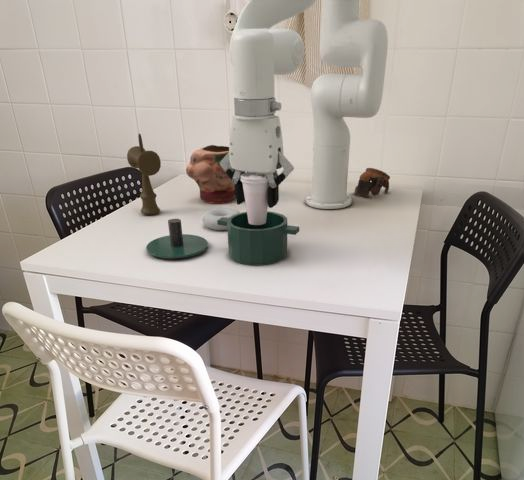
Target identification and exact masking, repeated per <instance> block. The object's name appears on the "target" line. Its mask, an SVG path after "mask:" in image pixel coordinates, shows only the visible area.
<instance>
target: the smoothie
mask: <svg viewBox="0 0 524 480" xmlns="http://www.w3.org/2000/svg"><path fill="white" fill-rule="evenodd" d="M240 180H241V182H242V184H243V190H244V197H245V201H244V203H245V209H246V212H247V216H248V222H249V224H251V225H262V224H265V223H266V218H267V211H268V208H269V207H268V188H269V187H270V183H269V181H268V178H267V176H266V173H255V172H245V173H243V174H241V179H240Z"/></svg>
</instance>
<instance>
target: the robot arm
mask: <svg viewBox="0 0 524 480" xmlns="http://www.w3.org/2000/svg"><path fill="white" fill-rule="evenodd" d="M316 1H317V0H249V1H247V2H246V4H245V5H244V6H243V8H242V9H241V12H240V13H239V15H238V17H237V20H236V22H235V25H234V28H233V31H232V34H231V37H230V42H229V47H228V48H229V50H228V53H229V61H230V63H231V65H232V85H233V87H232V89H233V107H234V108H233V109H234V115H232V117H231V120H230V128H229V139H228V140H229V142H228V147H229V153H228V154H227V155H226V156H225V157H224V158H223V159H222V160H221V161H220V166H221V167H222V168H223V169H224V171H226V174H227V175H228V176H229V177H230V179H231V180H232V183H233V184H235V197H234V199H236V204H237V205H241V204H243V203H245V197H244V190H243V184H242V182H241V180H240V179H241V174H243V173H246V172H255V173H266V176H267V178H268V181H269V183H270V187H269V188H268V208H269V209H272V208H274V207H275V206H277V204H278V202H279V197H280V195H279V194H280V191H279V190H280V189H279V187H280V186H279V185H281V184H282V183H283V182H284V181H285V180H286V178H287V177H288V176H289V175H290V174H291V173H293V171H294V170H295V167H294V166H293V164H292V163H291V161H290V160H288V159H287V157H286V156H285V154H284V141H283V133H282V126H281V119H280V116H279V115H275V114H276V112H277V111H282V103H281V102H278V101H276V97H275V76H288V75H292V74H293V73H295V72H296V71H297V70H299V68H300V67H301V66H302V63H303V62H304V58H305V44H304V40H303V39H302V36H301V35H300V34H299V33H298V32H297V31H295V30H294V29H291V28H279V27H278V28H276V27H275V28H272V27H274V26H276V25H277V24H279V23H281V22H283V21H286V20H289V19H291V18H293V17H295V16H297V15H298V16H299V15H300V14H302V13H304V12H305V11H307V10H309V9H310V8H311V7H313V5H314V4H315V3H316ZM359 10H360V0H321V18H320V34H319V35H320V36H319V56H320V60H321V62H322V63H323V64H324V65H325V66H327V67H333V68H360V69H362V73H341V72H340V73H337V72H336V73H335V72H333V73H331V72H330V73H325V74H321V75H319V76H318V77H317V78H316V79H315V80H314V81H313V83H312V86H311V89H310V102H311V108H312V119H313V141H312V143H313V145H312V174H311V194H310V195H307V196H306V197H305V203H306V205H307V206H309V207H312V208H315V209H320V210H321V209H322V210H339V209H343V208H347V207H349V206H350V205H351V204H352V201H353V200H352V199H353V198H352V197H350V195H348V194H347V191H348V178H349V177H348V176H349V163H350V149H351V148H350V147H351V132H350V128H349V126H348V125H347V122H346V121H345V119H344V118H357V119H358V118H359V119H360V118H361V119H370V118H373V117H375V116H376V115H377V114H378V112H379V111H380V108H381V105H382V99H383V93H384V84H385V76H386V75H385V74H386V65H387V57H388V45H389V37H388V30H387V27H386V25H385V23H383V22H382V21H380V20H378V19H360V18H359ZM279 169H280V170H281V169H282V171H281V172H280V173H279V172H278V170H279Z"/></svg>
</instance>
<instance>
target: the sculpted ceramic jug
mask: <svg viewBox="0 0 524 480" xmlns="http://www.w3.org/2000/svg"><path fill="white" fill-rule="evenodd" d="M228 153H229V146H225V145H214V144H210V145H207V146H203V147H201V148H199V149H196V150H195V151H193V152H192V153H191V156H190V159H189V160H190V161H189V163H188V165H187V166H186V168H185V173H186V175H187V176H188V177H189V178H190V179H192V180H194V182H195V183H196V184H197V186H198V188H199V198H200V200H201V201H203V202H206V203H210V204H226V203H230V202H232V201H234V200H235V184H233V183H232V180H231V179H230V177H229V176H228V175H227V174H226V171H224V169H223V168H222V167H221V166H220V161H221V160H222V159H223V158H224V157H225V156H226V155H227V154H228Z"/></svg>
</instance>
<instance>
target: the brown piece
mask: <svg viewBox="0 0 524 480" xmlns="http://www.w3.org/2000/svg"><path fill="white" fill-rule="evenodd" d="M390 179H391V176H390V175H389V174H387V173H386V172H384V171H383V170H380V169H378V168H373V167H366V169H365V171H364V172H362V173H361V174H360V176H359V178H358V182H357V185H356V186H355V188H354V192H353V195H358V196H360V197H364V198H367V199H368V198H369V196H370V193H371V195H372V196H379V194H380V192H381V191H382V188H384V193H385V194H386V193H388V192H389V191H390V190H389V189H390V181H389V180H390Z"/></svg>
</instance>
